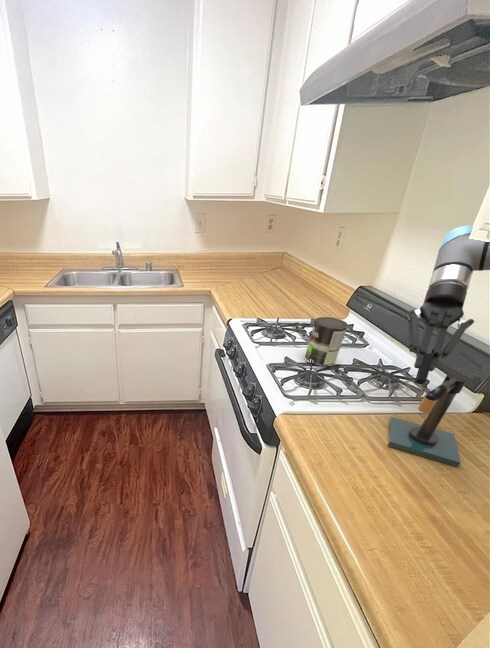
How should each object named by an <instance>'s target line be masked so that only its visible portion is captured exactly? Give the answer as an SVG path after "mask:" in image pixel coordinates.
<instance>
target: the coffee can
mask: <svg viewBox="0 0 490 648" xmlns="http://www.w3.org/2000/svg"><path fill="white" fill-rule="evenodd" d="M348 327H349V324H348V323H347V322H346V321H344V320H342V319H340V318H336V317H330V316H321V317H316V318H315V319H314V321H313V326H312V331H311V333H310V336H309V337H310V338H309V341H308V345H307V349H306V352H305V354H304V361H306V362H307V363H308V364H310V363H309V362H310V359H311V357H312V360H313V362H314V363H318V364H321V365H334V366H335V365H336V362H337V358H338V356H339V352H340V349H341V346H342V344H343V340H344V337H345V335H346V331H347V330H348Z"/></svg>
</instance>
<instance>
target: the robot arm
mask: <svg viewBox="0 0 490 648" xmlns="http://www.w3.org/2000/svg"><path fill="white" fill-rule="evenodd" d="M473 227H474V226H472V225H461V226H458V227H456V228H453V229H451V230H450V231H449V232H447V234H446V235H445V236H444V237H443V239H442V242H441V245H440V247H439V249H438V252H437V256H436V259H435V264H434V267H433V271H432V274H431V277H430V280H429V284H428V287H427V290H426V294H425V297H424V300H423V303H422V305H421V306H420V307H419V309H415V310H414V309H409V311H408V312H407V313H406V315H405V319H406V320H407V322H408V351H409V352H410V353H414V354H415V357H416V358H415V361H414V365H413V368H414V369H417V373H416V377H415V379H414V384H417V385H423V384H425V383H426V382H427V379H428V376H429V372H433V371H434V370H435V369H436V368H437V365H438V361H439V359H446V358H447V357H448V356H449V355H451V353H452V352H453V350H454V349H455V347H456V346H457V344H458V343H459V341H460V339H461V338H462V336H463V334H464V333H465V331H466V330H468V329H469V328H470V327H471V326H472V325H473V324H474V323H475V320H474V319H472V318H469V319H468V318H467V317H466V316H464V315H465V312H464V310H463V308H464V305H465V302H466V298H467V294H468V290H469V287H470V283H471V279H472V276H473V272H476V271H479V272H480V271H482V272H483V271H490V242H485V241H481V240H474V239H469V236H470V234H471V232H472V229H473ZM419 318H421V320H422V321H423V323H424V328H423V332H422V335H421V340H420V339H419V338H420V337H419V336H420V335H419ZM456 322H458V323H457V325H456V326H457V329H456V330H455V331H454V333H453V334H452V336H451V337H450V339H449V341H448V342H447V344H446V345H445V347H444V349H443V346H444V342H445V339H446V335H447V331H448V329H449V327H451V326H452V325H453V324H455V323H456ZM435 328H436V334H435V338H434V342H433V346H432V349H431V351H430V353H427V351H428V349H429V345H430V341H431V338H432V335H433V331H434V329H435ZM419 340H420V341H419ZM419 342H420V343H419ZM442 349H443V350H442Z"/></svg>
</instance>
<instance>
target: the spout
mask: <svg viewBox="0 0 490 648" xmlns="http://www.w3.org/2000/svg"><path fill="white" fill-rule="evenodd" d="M467 382H468V380H467V378H466V377H465V376H462V375H459V374H456V373H447V374H446V376H445V378H444V379H443V381H442V383H441V384H439V385H438V386H436V387H435V388H434V389H432V390H430V391H429V392H428V393H426V394H425V395H424V396H423V398H422V400H421V401H420V402H419V405H418V407H417V410H418V411H419V412H421V413H424V414H428V413H430V412H431V410H432V408H433V407H434V405H435V403H436V401H437V400H438V399H439V398H441V397H442V396H443V395H445V394H446V393H448V392H449V393H454V394H456V395H457V394H460V393H461V392H462V390H463V388H464V386H465V385H466V383H467Z"/></svg>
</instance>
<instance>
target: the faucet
mask: <svg viewBox="0 0 490 648" xmlns="http://www.w3.org/2000/svg"><path fill="white" fill-rule="evenodd" d="M456 395H457V394H454V393H449V392H448V393H446V394H445V395H443V396H442V397H441V398H439V399H438V400H437V401H436V403H435V405H434V407H433V408H432V410H431V412H430V413H427V415H426V416H425V418H424V420H423V422H422V424H420V423H416V422H412V421H409V420H405V419H402V418H398V417H395V416H390V417H389V419H388V426H387V427H388V430H387V447H390V448H392V449H396V450H399V451H403V452H405V453H409V454H412V455H414V456H419V457H422V458H426V459H429V460H431V461H435V462H438V463H442V464H445V465H448V466H452V467H454V468H459V466H460V465H461V463H462V461H461V458H460V453H459V449H458V444H457V440H456V435H455V433H453V432H449V431H446V430H443V429H442V430H441V429H438V426H439V425H440V423H441V421H442V420H443V418H444V417H445V415H446V413H447V411H448V409H449V408H450V406H451V405H452V403H453V402H454V399H455V397H456Z"/></svg>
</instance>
